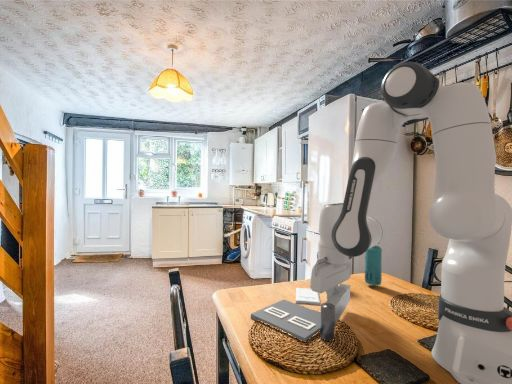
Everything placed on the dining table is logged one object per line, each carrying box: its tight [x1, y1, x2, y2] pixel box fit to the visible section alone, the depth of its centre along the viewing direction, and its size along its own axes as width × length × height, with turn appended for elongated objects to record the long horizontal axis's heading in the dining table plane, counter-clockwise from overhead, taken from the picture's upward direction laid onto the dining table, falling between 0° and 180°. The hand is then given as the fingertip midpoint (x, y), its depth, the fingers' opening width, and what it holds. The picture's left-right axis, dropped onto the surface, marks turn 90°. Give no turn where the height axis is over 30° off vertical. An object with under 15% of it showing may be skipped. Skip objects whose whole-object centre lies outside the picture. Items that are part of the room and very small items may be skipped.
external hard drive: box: [295, 287, 321, 306], centre depth 99 cm, size 2×8×12 cm
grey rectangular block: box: [319, 283, 351, 341], centre depth 80 cm, size 23×4×8 cm, turn 150°
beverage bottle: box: [364, 242, 383, 286], centre depth 112 cm, size 6×7×20 cm
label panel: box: [250, 299, 321, 343], centre depth 81 cm, size 19×16×2 cm
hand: (331, 299), depth 85 cm, fingers closed
